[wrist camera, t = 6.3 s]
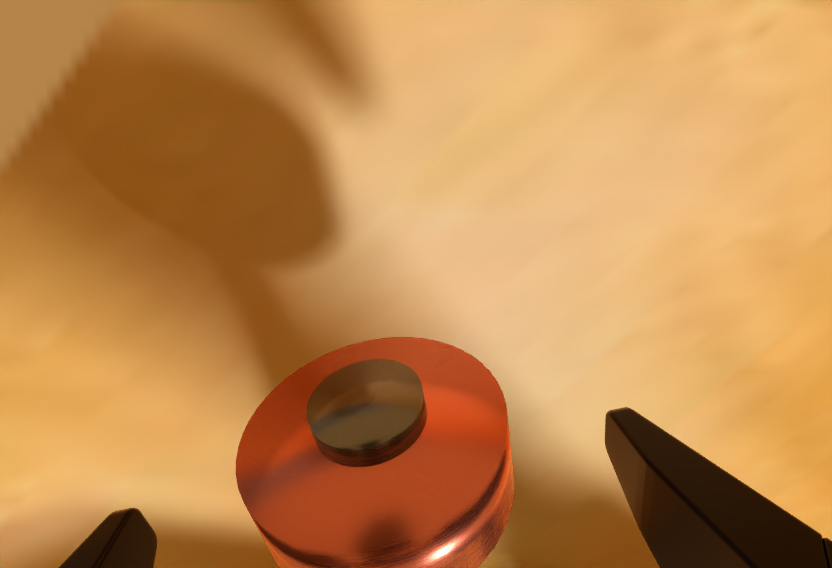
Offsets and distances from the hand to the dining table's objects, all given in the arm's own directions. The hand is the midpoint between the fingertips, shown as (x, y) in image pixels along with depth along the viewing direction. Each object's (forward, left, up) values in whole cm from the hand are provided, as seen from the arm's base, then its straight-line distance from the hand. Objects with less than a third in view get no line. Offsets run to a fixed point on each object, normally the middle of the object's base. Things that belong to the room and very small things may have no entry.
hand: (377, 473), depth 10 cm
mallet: (0, +7, -3) cm, 8 cm away
